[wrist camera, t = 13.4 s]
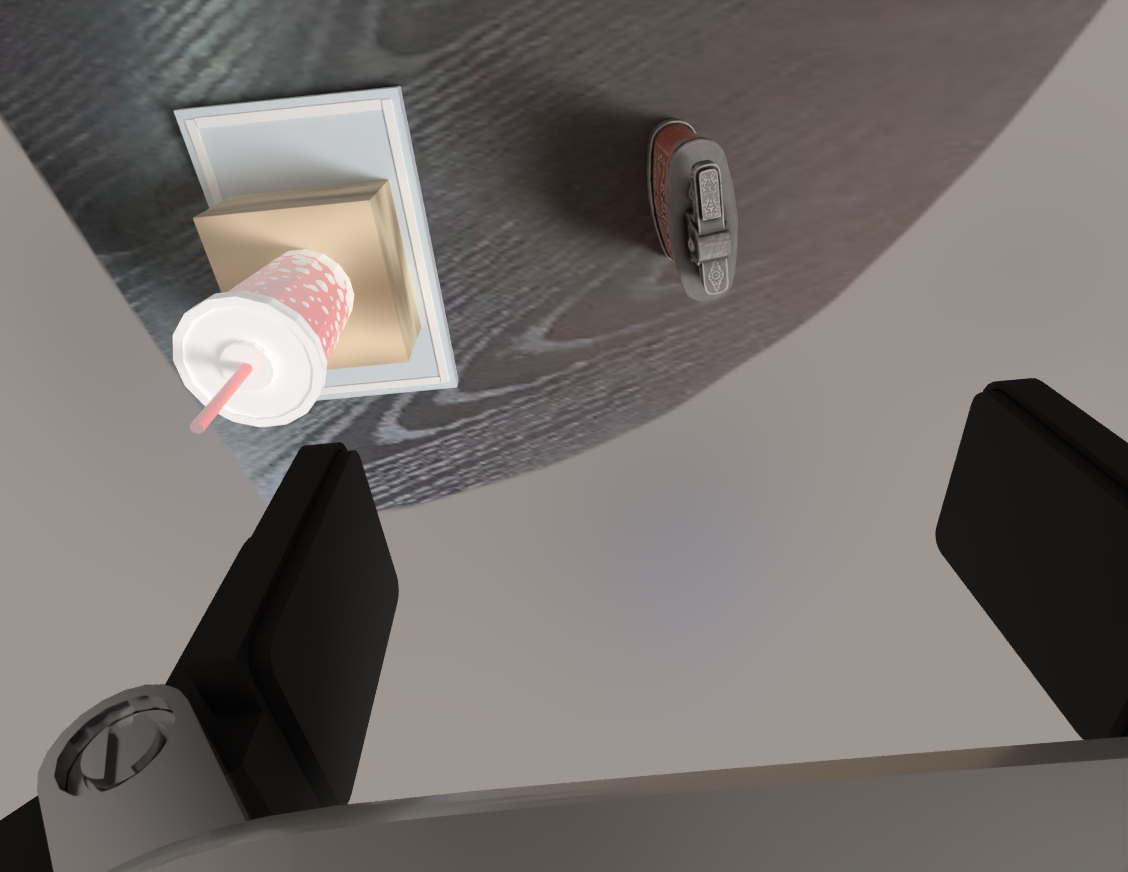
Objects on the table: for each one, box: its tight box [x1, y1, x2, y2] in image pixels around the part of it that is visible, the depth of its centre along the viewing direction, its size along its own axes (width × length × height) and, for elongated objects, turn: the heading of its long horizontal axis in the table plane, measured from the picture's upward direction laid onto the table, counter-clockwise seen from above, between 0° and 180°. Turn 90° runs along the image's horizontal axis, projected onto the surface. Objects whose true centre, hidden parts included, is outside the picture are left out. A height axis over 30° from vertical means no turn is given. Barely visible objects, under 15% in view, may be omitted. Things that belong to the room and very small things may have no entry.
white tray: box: [174, 86, 458, 401], centre depth 40 cm, size 18×12×1 cm, turn 5°
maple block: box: [193, 180, 421, 370], centre depth 38 cm, size 9×9×5 cm
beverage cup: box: [173, 249, 354, 434], centre depth 29 cm, size 6×6×14 cm
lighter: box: [647, 119, 738, 302], centre depth 35 cm, size 8×3×10 cm, turn 12°
